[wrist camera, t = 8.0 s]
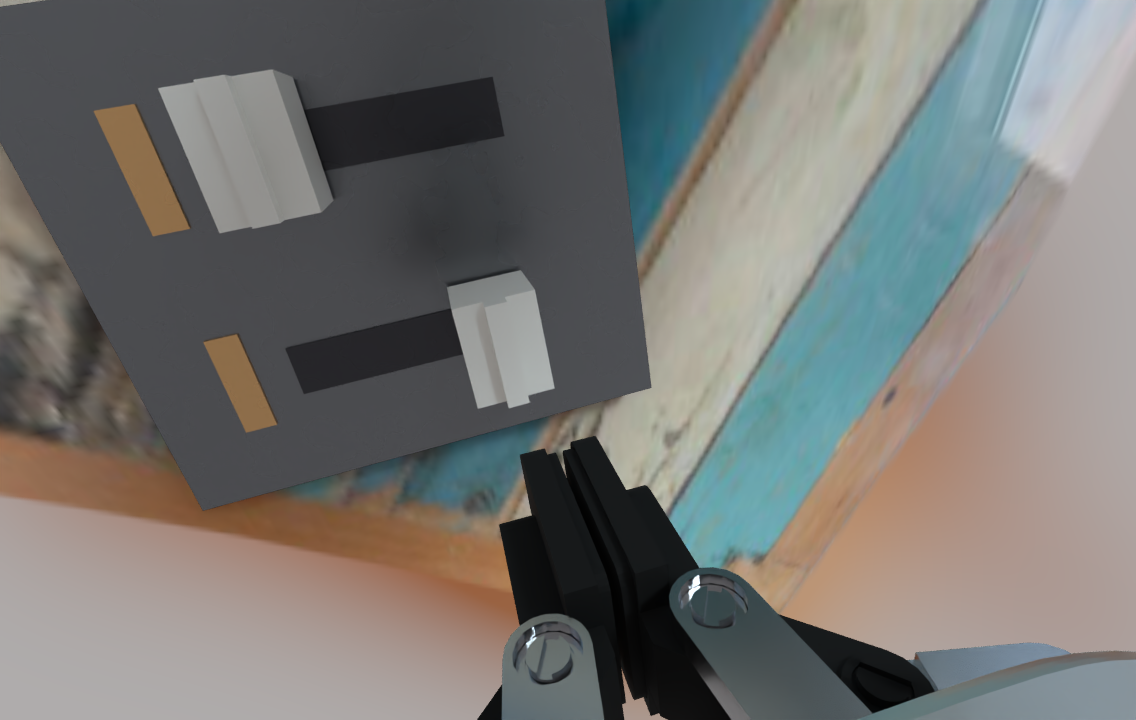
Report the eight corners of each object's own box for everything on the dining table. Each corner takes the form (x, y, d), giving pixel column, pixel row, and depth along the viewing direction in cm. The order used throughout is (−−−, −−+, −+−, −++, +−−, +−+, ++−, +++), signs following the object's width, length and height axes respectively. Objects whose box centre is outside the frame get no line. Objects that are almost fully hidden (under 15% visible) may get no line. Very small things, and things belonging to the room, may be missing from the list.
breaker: (292, 76, 19) (266, 67, 15) (333, 200, 20) (318, 215, 17) (195, 93, 18) (148, 87, 15) (245, 217, 20) (212, 237, 17)
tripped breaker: (520, 270, 23) (538, 294, 20) (539, 359, 25) (558, 395, 21) (446, 287, 23) (452, 315, 19) (470, 377, 24) (479, 416, 21)
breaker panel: (580, -59, 21) (596, -77, 19) (636, 371, 29) (652, 388, 27) (-21, 26, 18) (-72, 15, 16) (217, 483, 26) (202, 512, 24)
